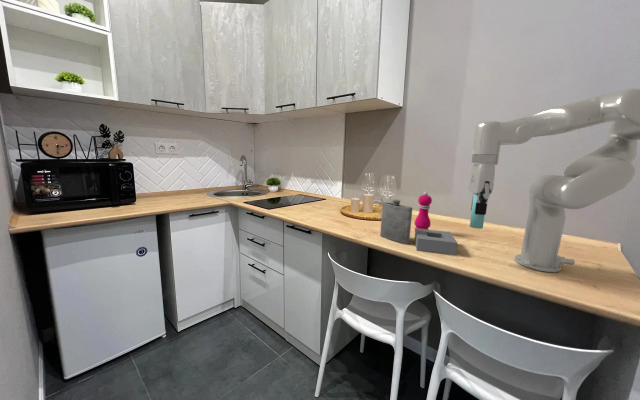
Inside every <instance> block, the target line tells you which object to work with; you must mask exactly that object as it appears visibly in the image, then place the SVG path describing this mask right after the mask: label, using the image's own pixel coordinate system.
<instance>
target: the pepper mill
mask: <svg viewBox="0 0 640 400" xmlns="http://www.w3.org/2000/svg"><path fill="white" fill-rule="evenodd" d="M417 199H418V201H417V202H418V208H419V209H418V214H417V216H416V218H415V220H414V226H415V228H417V229H426V230H430V227H431V225H432V224H431V219H430V215H429V209H430V208H431V204H432V202H433V200H432V197H431V195H428V191H424V192H423V195H422V194H421V195H420V196H419V197H418V198H417Z"/></svg>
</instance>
